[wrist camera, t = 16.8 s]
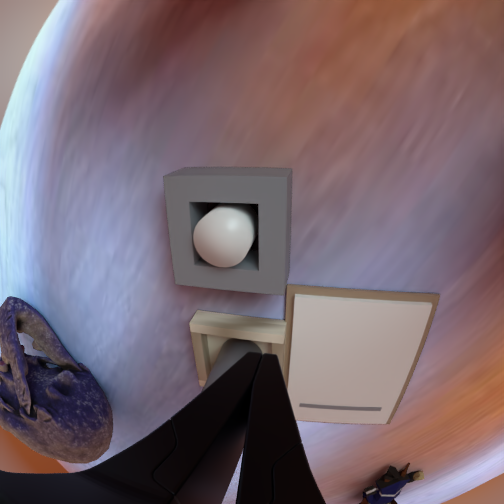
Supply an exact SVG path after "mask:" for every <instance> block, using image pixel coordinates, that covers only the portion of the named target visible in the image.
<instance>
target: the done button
mask: <svg viewBox="0 0 504 504" xmlns="http://www.w3.org/2000/svg"><path fill="white" fill-rule="evenodd" d="M258 232H259V219H258V216H257V214H256V212H255V210H254V209H253V208H252V207H251V206H250V205H249V204H247V203H222V202H221V203H219V204H218V205H217V206H216V207H215V208H213V209H212V210H211V211H210V212H209V213H208V214H207V215H205V216H204V217H203V218H202V219H201V220H200V221H199V222H198V223H197V225H196V227H195V229H194V234H193V240H194V245H195V248H196V250H197V252H198V253H199V255H200V256H201V257H202V258H203V259H204V260H205V261H207V262H208V263H210V264H212V265H214V266H217V267H231V266H234V265H237V264H238V263H240V262H241V261H242V260H243V259H244V258H245V256H246V254H247V253H248V251H249V249H250V247H251V245H252V244H253V242H254V240H255V238H256V236H257V234H258Z"/></svg>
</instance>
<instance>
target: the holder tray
mask: <svg viewBox="0 0 504 504" xmlns="http://www.w3.org/2000/svg"><path fill="white" fill-rule="evenodd" d="M286 324H287V322H285V320H278V319H268V318H258V317H249V316H241V315H232V314H224V313H216V312H208V311H201V310H197V312H196V313H195V315H194V316H193V318H192V320H191V321H190V323H189V325H190V331H191V338H192V344H193V350H194V356H195V361H196V367H197V373H198V378H199V384H200V386H203V387H204V385H205V383H206V381H207V379H208V376H209V374H210V372H211V370H212V368H213V365H214V363H215V361H216V359H217V357H218V354H219V352H220V350H221V348H222V345H223V344H224V342H225V341H227V340H228V339H231V338H237V339H245V340H251V341H252V342H254V343H255V344H257V345H258V346H259V347H260V349H261V351H262V353H263V354H264V353H270V354H276V355H277V356H278V358H279V362H280V366H281V369H282V373H283V371H284V357H285V341H286Z"/></svg>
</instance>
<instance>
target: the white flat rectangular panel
mask: <svg viewBox="0 0 504 504" xmlns="http://www.w3.org/2000/svg"><path fill="white" fill-rule="evenodd" d="M439 298H440V294H431V293H411V292H394V291H377V290H362V289H347V288H333V287H319V286H306V285H294V284H287V296H286V317H285V322H287V324H286V341H285V357H284V371H283V376H284V380H285V383H286V387H287V391H288V394H289V398H290V401H291V405H292V409H293V412H294V416H295V419H296V420H300V421H311V422H324V423H342V424H390V422H391V420H392V418H393V416H394V414H395V412H396V410H397V408H398V406H399V404H400V402H401V399H402V397H403V395H404V393H405V391H406V388H407V386H408V384H409V381H410V379H411V377H412V374H413V372H414V370H415V367H416V365H417V362H418V360H419V357H420V354H421V352H422V349H423V346H424V344H425V341H426V338H427V335H428V332H429V329H430V327H431V324H432V321H433V317H434V314H435V311H436V308H437V305H438V301H439Z"/></svg>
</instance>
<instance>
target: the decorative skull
mask: <svg viewBox="0 0 504 504" xmlns="http://www.w3.org/2000/svg"><path fill="white" fill-rule="evenodd" d="M17 332H18V333H22V332H24V333H26V334H28V335H30V336H31V337H32V338H33V339H34V341H33V343H32V346H33V348H34V349H35V350H39V351H43V352H44V353H45V354H46V355H47V356H48V357H49V358H47V357H40V356H32V355H27V354H26V353H24V349H25V348H24V346H23V345H21V344H20V341H19V338H18V334H17ZM0 346H1V352H2V353H1V357H0V425H1V427H2V428H3V429H4V430H6V431H9V432H11V433H12V434H13V435H14V436H15V437H17V438H18V439H19V440H20V441H22V442H23V443H24V444H26V445H27V446H28V447H30V448H31V449H32V450H34V451H36V452H38V453H40V454H41V455H44V456H46V457H50V458H54V459H58V460H62V461H65V462H69V463H89V462H92V461H95V460H97V459H98V458H100V457H101V456H102V455H103V454H104V453H105V452H106V451H107V450H108V449H109V445H110V442H111V438H112V433H113V418H112V410H111V407H110V405H109V403H108V400H107V398H106V396H105V394H104V392H103V390H102V389H101V388H100V386H99V385H98V383H97V382H96V380H95V379H94V377H93V376H92V374H91V372H90V371H89V369H88V368H87V367H86V366H85V365H83V364H82V363H78V364H77V363H76V362H75V361H74V360H73V358H72V357H71V356H70V355H69V354H68V352H67V351H66V350H65V348H64V347H63V345H62V344H61V342H60V341H59V339H58V338H57V336H56V335H55V333H54V332H53V330H52V329H51V328H50V326H49V324H48V323H47V322H46V320H45V319H44V318H43V317H42V316H41V315H40V314H39V313H38V311H37V310H36V309H34V308H33V307H31V306H30V305H29V304H27V303H26V302H24V301H23V300H21V299H19V298H16V297H11V296H10V297H7V299H6V300H5V302H4V303H3V304H2V306H1V307H0ZM46 363H52V364H55V365H58V366H59V367H55V368H49V367H48V366H46Z"/></svg>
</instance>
